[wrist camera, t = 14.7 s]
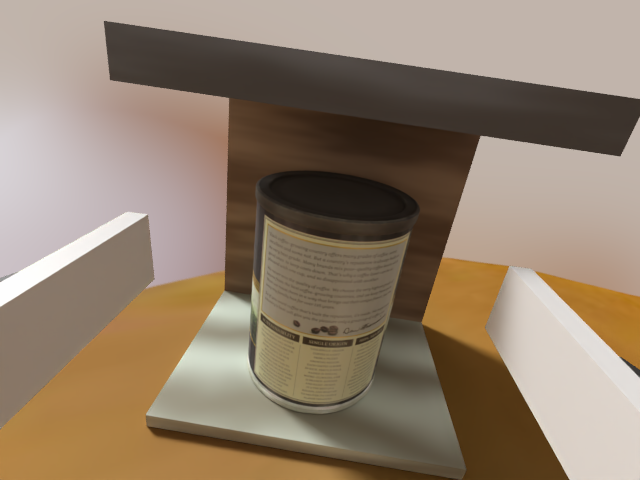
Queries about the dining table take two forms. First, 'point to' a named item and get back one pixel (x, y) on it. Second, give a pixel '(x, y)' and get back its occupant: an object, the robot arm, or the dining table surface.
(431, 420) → the brown piece
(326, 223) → the coffee can
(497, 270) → the dining table surface
